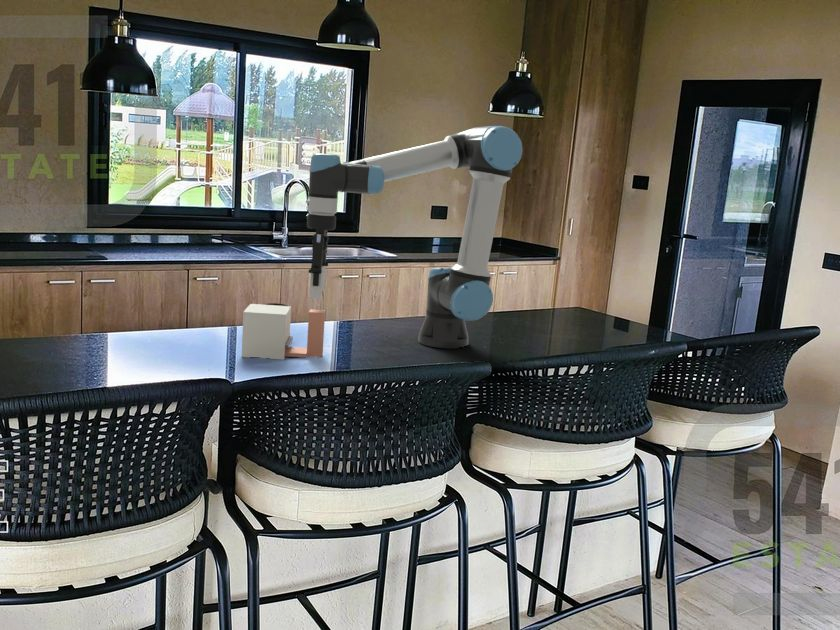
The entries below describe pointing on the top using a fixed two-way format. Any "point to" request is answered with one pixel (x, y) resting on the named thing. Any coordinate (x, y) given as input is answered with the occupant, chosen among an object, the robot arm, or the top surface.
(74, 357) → the top surface
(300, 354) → the orange l-shaped bracket
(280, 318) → the off-white block
